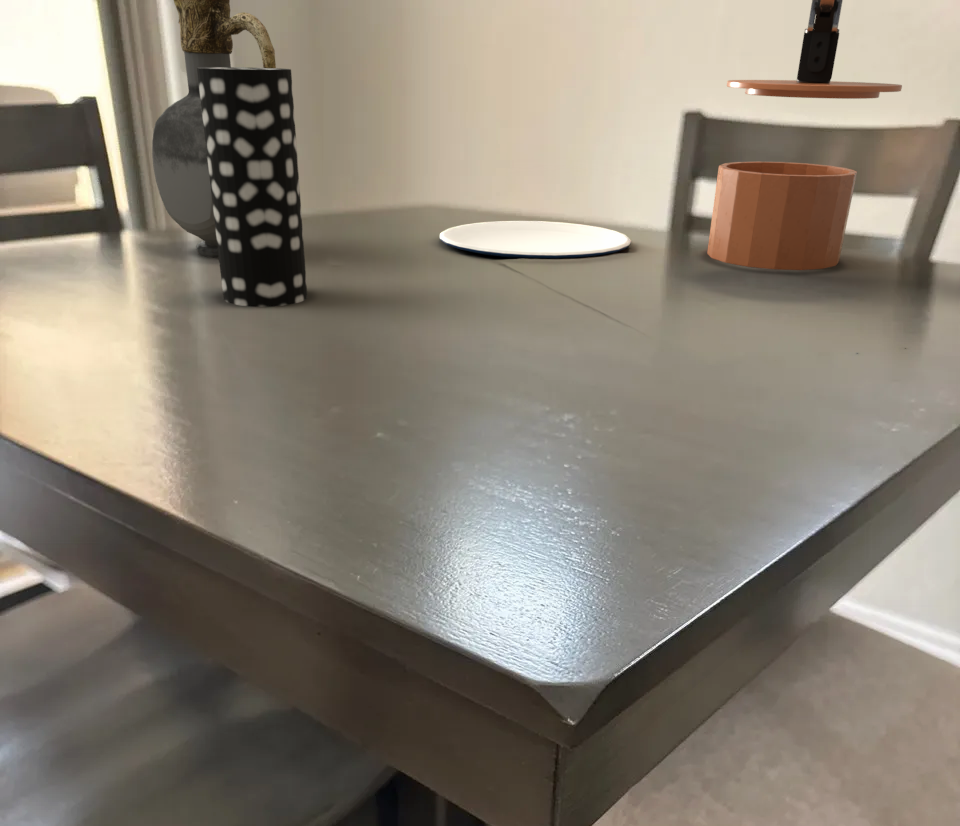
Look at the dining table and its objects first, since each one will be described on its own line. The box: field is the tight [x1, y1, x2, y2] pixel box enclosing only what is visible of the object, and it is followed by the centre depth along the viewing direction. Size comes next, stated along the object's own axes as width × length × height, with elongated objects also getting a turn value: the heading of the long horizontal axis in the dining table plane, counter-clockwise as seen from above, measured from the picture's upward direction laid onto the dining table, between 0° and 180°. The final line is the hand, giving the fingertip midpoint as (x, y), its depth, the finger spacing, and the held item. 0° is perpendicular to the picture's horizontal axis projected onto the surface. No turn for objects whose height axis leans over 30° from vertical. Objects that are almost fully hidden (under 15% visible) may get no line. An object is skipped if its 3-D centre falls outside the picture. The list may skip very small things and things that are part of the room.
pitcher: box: [151, 0, 277, 259], centre depth 109 cm, size 11×19×30 cm, turn 49°
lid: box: [726, 28, 903, 100], centre depth 95 cm, size 17×17×6 cm
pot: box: [706, 161, 858, 271], centre depth 118 cm, size 16×16×10 cm
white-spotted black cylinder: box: [197, 66, 308, 308], centre depth 93 cm, size 8×8×20 cm
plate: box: [439, 220, 632, 260], centre depth 127 cm, size 25×25×1 cm
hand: (813, 78), depth 96 cm, fingers closed on lid, 3 cm apart
